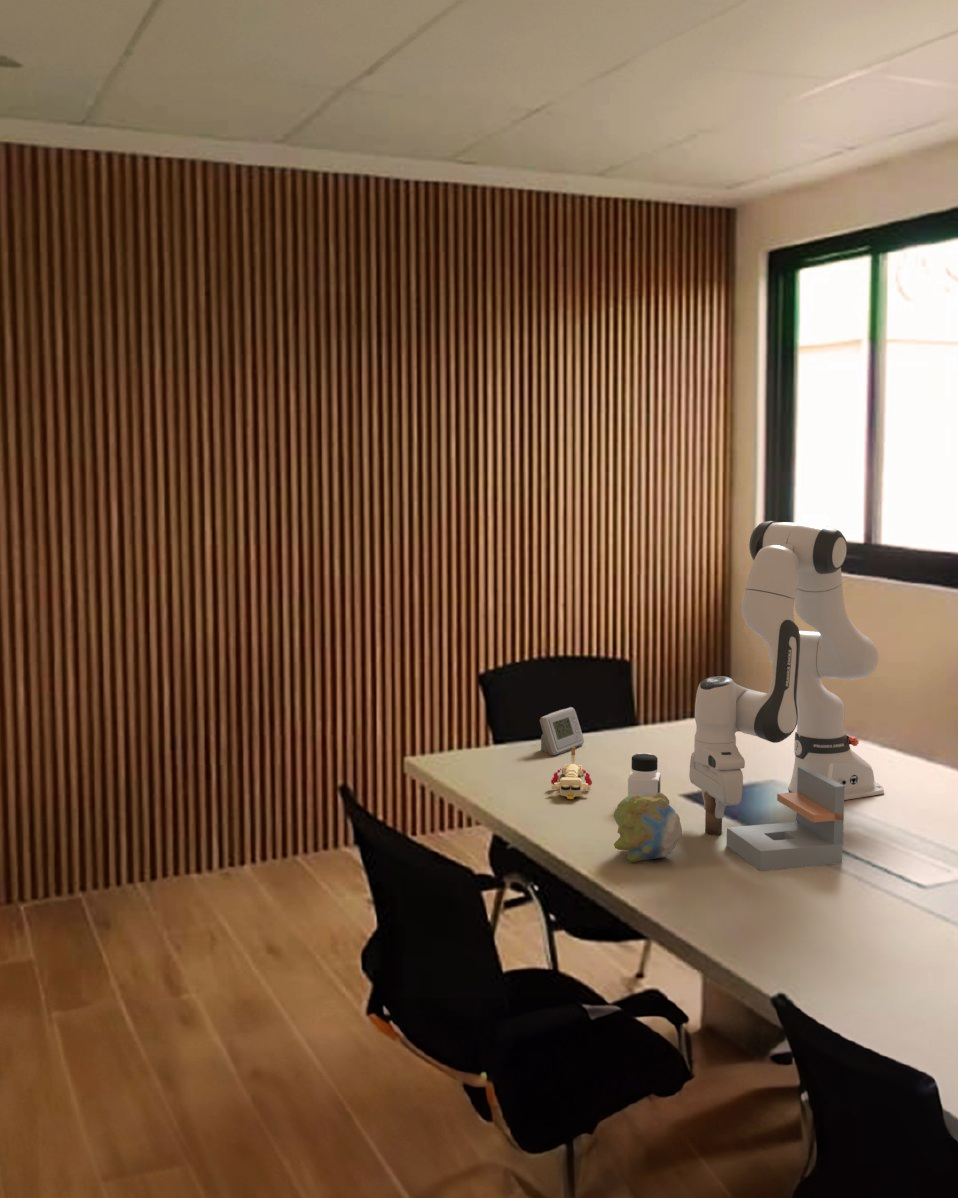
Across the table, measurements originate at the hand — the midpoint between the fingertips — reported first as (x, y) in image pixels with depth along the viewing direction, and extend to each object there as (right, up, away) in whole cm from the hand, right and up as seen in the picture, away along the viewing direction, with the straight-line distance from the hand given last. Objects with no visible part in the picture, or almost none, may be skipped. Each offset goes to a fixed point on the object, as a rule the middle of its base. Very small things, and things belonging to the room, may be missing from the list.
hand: (713, 814), depth 279 cm
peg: (0, -4, 0) cm, 4 cm away
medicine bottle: (-12, -2, +22) cm, 25 cm away
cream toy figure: (-28, 0, +37) cm, 47 cm away
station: (+11, -6, -14) cm, 19 cm away
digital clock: (-28, +5, +75) cm, 80 cm away
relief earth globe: (-18, -7, -15) cm, 24 cm away
